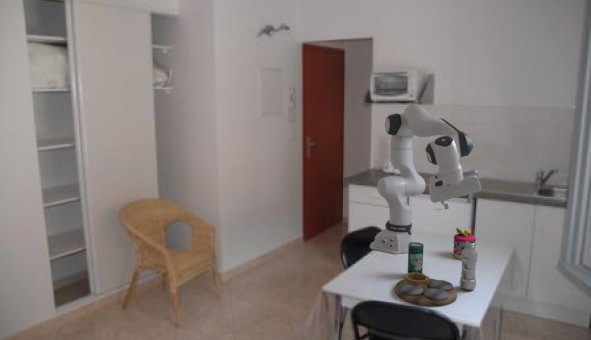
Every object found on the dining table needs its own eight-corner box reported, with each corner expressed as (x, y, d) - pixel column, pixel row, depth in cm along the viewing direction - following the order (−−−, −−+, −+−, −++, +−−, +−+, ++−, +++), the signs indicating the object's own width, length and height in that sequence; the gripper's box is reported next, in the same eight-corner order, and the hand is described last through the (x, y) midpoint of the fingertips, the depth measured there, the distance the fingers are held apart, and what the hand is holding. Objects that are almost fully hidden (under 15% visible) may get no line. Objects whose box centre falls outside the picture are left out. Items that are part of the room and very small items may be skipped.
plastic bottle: (455, 288, 197) (458, 242, 194) (465, 284, 201) (467, 239, 198) (469, 293, 192) (472, 246, 189) (479, 289, 196) (481, 242, 193)
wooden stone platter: (388, 299, 187) (388, 288, 186) (403, 278, 208) (403, 268, 207) (451, 311, 176) (452, 299, 175) (460, 288, 197) (461, 277, 196)
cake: (464, 252, 241) (466, 224, 239) (479, 259, 231) (481, 229, 229) (448, 255, 237) (449, 226, 235) (462, 262, 227) (464, 232, 225)
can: (411, 279, 206) (412, 246, 204) (405, 274, 212) (406, 242, 210) (424, 278, 207) (425, 246, 205) (418, 273, 213) (419, 241, 211)
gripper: (475, 166, 190) (481, 195, 195) (425, 179, 194) (432, 208, 199) (480, 171, 185) (486, 202, 189) (428, 185, 188) (435, 215, 193)
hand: (458, 205), depth 194 cm, fingers open, 8 cm apart
